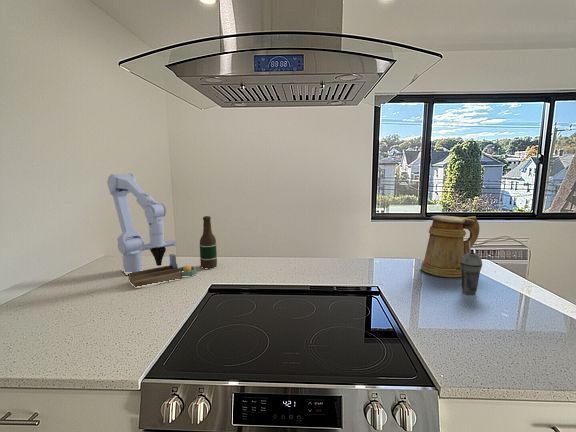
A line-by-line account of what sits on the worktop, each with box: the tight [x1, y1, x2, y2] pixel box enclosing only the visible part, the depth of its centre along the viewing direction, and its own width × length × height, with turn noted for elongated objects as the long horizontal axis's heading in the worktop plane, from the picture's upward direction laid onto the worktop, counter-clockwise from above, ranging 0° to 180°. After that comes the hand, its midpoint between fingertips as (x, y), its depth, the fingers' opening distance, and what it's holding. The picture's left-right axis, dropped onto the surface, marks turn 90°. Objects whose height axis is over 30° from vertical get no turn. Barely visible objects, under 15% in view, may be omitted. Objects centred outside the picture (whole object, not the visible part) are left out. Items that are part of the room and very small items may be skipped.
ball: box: [183, 265, 191, 272], centre depth 154 cm, size 4×4×4 cm
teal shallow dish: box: [178, 265, 197, 277], centre depth 154 cm, size 8×8×2 cm
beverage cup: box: [460, 241, 483, 296], centre depth 129 cm, size 7×7×20 cm
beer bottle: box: [199, 215, 218, 269], centre depth 162 cm, size 8×8×24 cm
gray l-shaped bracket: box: [169, 253, 179, 269], centre depth 149 cm, size 4×2×7 cm, turn 38°
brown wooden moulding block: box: [128, 264, 182, 287], centre depth 145 cm, size 10×18×4 cm, turn 128°
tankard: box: [420, 215, 480, 278], centre depth 154 cm, size 18×24×25 cm
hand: (158, 265), depth 146 cm, fingers closed
